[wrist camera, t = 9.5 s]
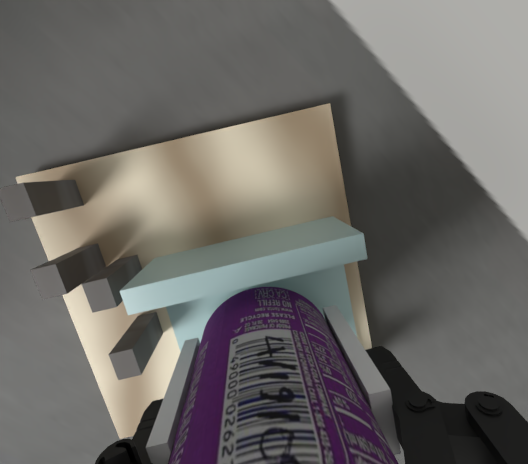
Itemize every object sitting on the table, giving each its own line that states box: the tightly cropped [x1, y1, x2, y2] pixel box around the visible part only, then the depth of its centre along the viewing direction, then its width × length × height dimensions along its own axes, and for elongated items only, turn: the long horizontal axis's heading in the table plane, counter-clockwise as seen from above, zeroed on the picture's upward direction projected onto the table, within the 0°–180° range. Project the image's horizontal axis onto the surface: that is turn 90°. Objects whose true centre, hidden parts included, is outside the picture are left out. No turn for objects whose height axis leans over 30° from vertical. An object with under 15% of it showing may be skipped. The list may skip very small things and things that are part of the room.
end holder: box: [120, 216, 368, 352], centre depth 17 cm, size 11×11×5 cm
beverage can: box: [168, 287, 398, 464], centre depth 11 cm, size 7×7×12 cm
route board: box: [0, 103, 372, 439], centre depth 17 cm, size 18×18×5 cm
